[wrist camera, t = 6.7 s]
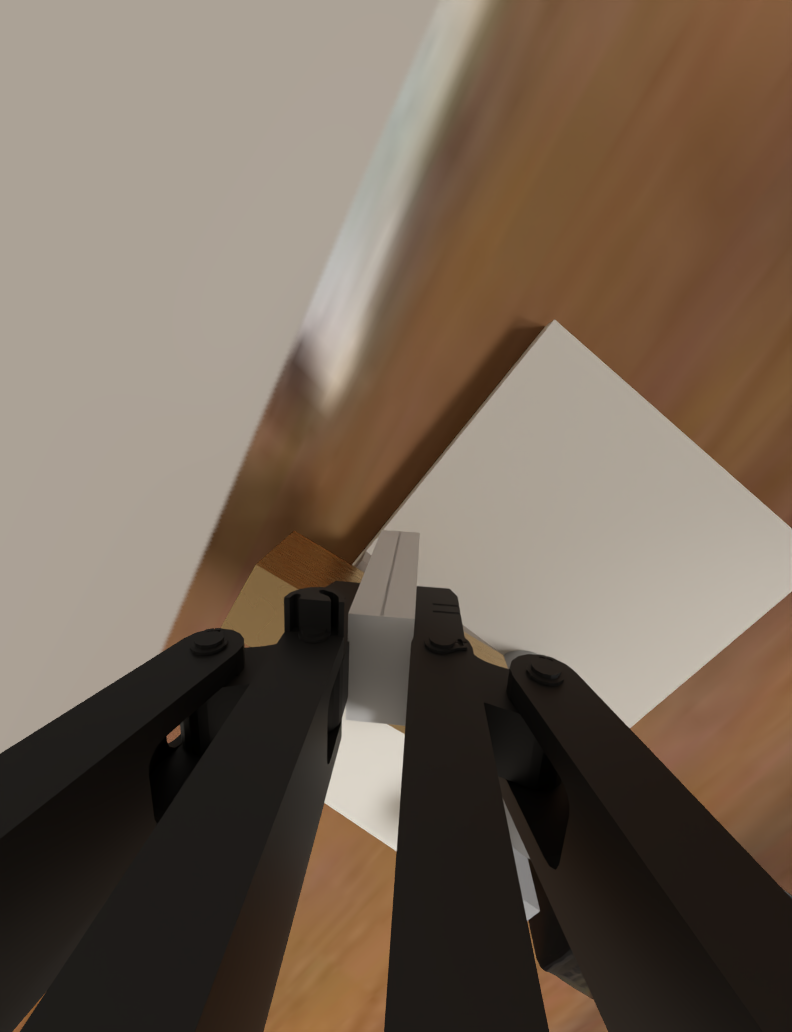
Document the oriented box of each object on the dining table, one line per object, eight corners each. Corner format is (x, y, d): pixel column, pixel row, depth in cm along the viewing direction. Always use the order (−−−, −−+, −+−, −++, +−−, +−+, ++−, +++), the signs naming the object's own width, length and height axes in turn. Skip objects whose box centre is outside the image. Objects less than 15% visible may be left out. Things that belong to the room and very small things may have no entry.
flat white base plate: (802, 551, 19) (1086, 652, 11) (444, 861, 25) (454, 1074, 17) (545, 326, 17) (652, 246, 9) (229, 715, 23) (126, 873, 15)
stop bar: (503, 655, 18) (526, 722, 14) (467, 700, 18) (479, 776, 14) (294, 530, 17) (255, 564, 13) (265, 582, 17) (219, 629, 14)
